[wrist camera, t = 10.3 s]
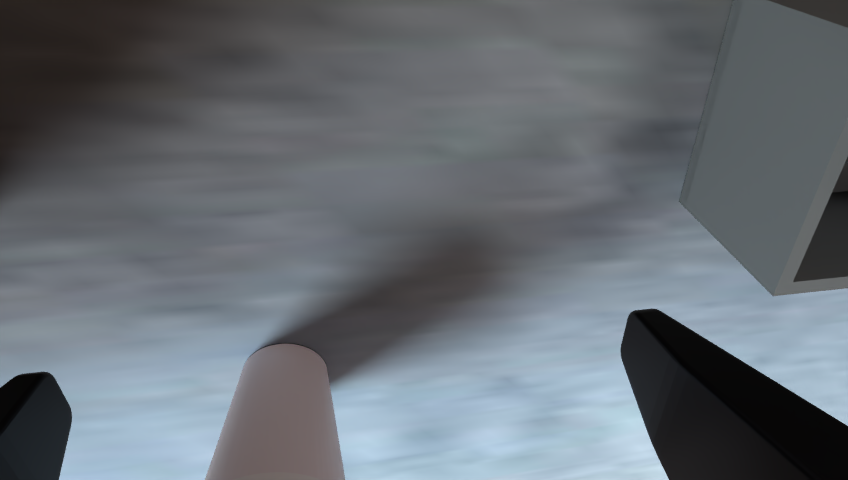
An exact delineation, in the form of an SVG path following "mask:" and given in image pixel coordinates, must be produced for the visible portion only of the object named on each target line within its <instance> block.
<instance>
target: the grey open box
mask: <svg viewBox="0 0 848 480" xmlns="http://www.w3.org/2000/svg"><path fill="white" fill-rule="evenodd" d="M847 157H848V0H733V4H732V7H731V11H730V15H729V18H728V22H727V26H726V30H725V33H724V37H723V41H722V44H721V48H720V52H719V55H718V59H717V63H716V67H715V70H714V74H713V78H712V81H711V85H710V89H709V93H708V96H707V100H706V104H705V107H704V111H703V115H702V119H701V122H700V126H699V130H698V133H697V137H696V141H695V144H694V148H693V152H692V156H691V159H690V163H689V167H688V170H687V174H686V178H685V182H684V185H683V189H682V193H681V196H680V200H679V202H680V203H681V204H682V205H683V206H684V207H685V208H686V209H687V210H688V211H689V212H690V213H691V214H692V215H693V216H694V217H695V218H696V219H697V220H698V221H699V222H700V223H701V224H702V225H703V226H704V227H705V228H706V229H707V230H708V231H709V232H710V233H711V234H712V235H713V236H714V237H715V238H716V239H717V240H718V241H719V242H720V243H721V244H722V245H723V246H724V247H725V248H726V249H727V250H728V251H729V252H730V253H731V254H732V255H733V256H734V257H735V258H736V259H737V260H738V261H739V263H740V264H741V265H742V266H743V267H744V268H745V269H746V270H747V271H748V272H749V273H750V274H751V275H752V276H753V277H754V278H755V279H756V280H757V281H758V282H759V283H760V284H761V285H762V286H763V287H764V288H765V289H766V290H767V291H768V292H769V293H770V294H771V295H772V296H778V295H787V294H797V293H806V292H816V291H825V290H835V289H844V288H848V191H844V192H832V191H833V189H834V187H835V184H836V182H837V180H838V178H839V175H840V173H841V171H842V168H843V166H844V164H845V162H846V159H847Z"/></svg>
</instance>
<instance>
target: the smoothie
mask: <svg viewBox="0 0 848 480" xmlns="http://www.w3.org/2000/svg"><path fill="white" fill-rule="evenodd" d="M205 480H345V475H344V469H343V463H342V457H341V451H340V445H339V439H338V433H337V426H336V420H335V414H334V408H333V402H332V396H331V390H330V384H329V377H328V371H327V367H326V364H325V362H324V360H323V359H322V358H321V357H320V356H319V355H318V354H317V353H316V352H314V351H313V350H311V349H309V348H306V347H303V346H300V345H295V344H276V345H271V346H267V347H265V348H262V349H260V350H258V351H256V352H255V353H254V354H252V355H251V356H250V357H249V358H248V360H247V361H246V362H245V364H244V367H243V370H242V373H241V376H240V379H239V381H238V384H237V387H236V390H235V393H234V396H233V399H232V402H231V405H230V408H229V411H228V414H227V417H226V420H225V423H224V426H223V428H222V431H221V434H220V437H219V440H218V443H217V446H216V449H215V452H214V455H213V458H212V461H211V464H210V467H209V470H208V473H207V475H206V478H205Z"/></svg>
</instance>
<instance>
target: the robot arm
mask: <svg viewBox="0 0 848 480" xmlns="http://www.w3.org/2000/svg"><path fill="white" fill-rule="evenodd" d="M621 358H622V362H623V365H624V367H625V370H626V373H627V376H628V379H629V381H630V384H631V387H632V390H633V393H634V395H635V398H636V401H637V404H638V407H639V409H640V412H641V415H642V418H643V421H644V423H645V426H646V429H647V432H648V434H649V437H650V439H651V442H652V445H653V447H654V449H655V451H656V453H657V456H658V458H659V460H660V462H661V464H662V466H663V468H664V470H665V472H666V474H667V476H668V478H669V480H848V426H847V425H845V424H844V423H842V422H840V421H839V420H837V419H835V418H834V417H832V416H830V415H829V414H827V413H826V412H824V411H822V410H821V409H819V408H817V407H816V406H814V405H813V404H811V403H809V402H808V401H806V400H804V399H803V398H801V397H800V396H798V395H796V394H795V393H793V392H791V391H790V390H788V389H787V388H785V387H783V386H782V385H780V384H778V383H777V382H775V381H774V380H772V379H770V378H769V377H767V376H765V375H764V374H762V373H760V372H759V371H757V370H756V369H754V368H752V367H751V366H749V365H747V364H746V363H744V362H743V361H741V360H739V359H738V358H736V357H734V356H733V355H731V354H730V353H728V352H726V351H725V350H723V349H721V348H720V347H718V346H717V345H715V344H713V343H712V342H710V341H708V340H707V339H705V338H703V337H702V336H700V335H699V334H697V333H695V332H694V331H692V330H690V329H689V328H687V327H686V326H684V325H682V324H681V323H679V322H677V321H676V320H674V319H673V318H671V317H669V316H668V315H666V314H664V313H663V312H661V311H659V310H657V309H644V310H635V311H633V312H631V313H630V314H629V316H628V319H627V324H626V328H625V332H624V336H623V340H622V344H621ZM71 422H72V412H71V408H70V406H69V404H68V402H67V400H66V398H65V396H64V395H63V393H62V391H61V389H60V387H59V385H58V383H57V382H56V380H55V378H54V377H53V375H51V374H50V373H48V372H36V373H27V374H21V375H18V376H15V377H14V378H13V379H11V380H10V381H9V382H7V383H6V384H5V385H3V386H2V387H1V388H0V480H59V476H60V472H61V467H62V463H63V458H64V454H65V450H66V445H67V441H68V436H69V432H70V428H71Z"/></svg>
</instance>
